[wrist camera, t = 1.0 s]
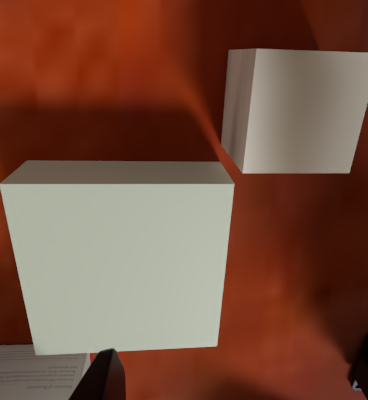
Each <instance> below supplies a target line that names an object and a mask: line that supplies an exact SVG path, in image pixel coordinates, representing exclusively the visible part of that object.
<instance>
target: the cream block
mask: <svg viewBox="0 0 368 400" xmlns="http://www.w3.org/2000/svg"><path fill="white" fill-rule="evenodd" d="M367 103H368V53H361V52H334V51H308V50H281V49H238V50H229V51H228V63H227V76H226V88H225V101H224V113H223V126H222V138H221V146H222V147H223V148H224V149H225V151H226V152H227V153H228V155H229V156H230V157H231V159H232V160H233V161H234V163H235V164H236V165H237V167H238V168H239V169H240V171H241V172H242V173H350V169H351V165H352V161H353V158H354V154H355V150H356V146H357V142H358V138H359V134H360V130H361V126H362V122H363V119H364V115H365V111H366V107H367Z"/></svg>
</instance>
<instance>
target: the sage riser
mask: <svg viewBox="0 0 368 400" xmlns="http://www.w3.org/2000/svg"><path fill="white" fill-rule="evenodd" d="M0 190H1V194H2V199H3V204H4V208H5V213H6V218H7V222H8V227H9V232H10V237H11V241H12V246H13V251H14V255H15V260H16V265H17V270H18V274H19V279H20V284H21V288H22V293H23V298H24V302H25V307H26V312H27V317H28V321H29V326H30V331H31V335H32V340H33V345H34V350H35V354H36V356H37V355H57V354H76V353H96V352H100V351H101V350H105V349H110V348H114V349H115V350H116V351H134V350H154V349H173V348H193V347H212V346H217V341H218V332H219V323H220V313H221V304H222V295H223V286H224V276H225V267H226V258H227V248H228V239H229V230H230V220H231V211H232V202H233V192H234V183H233V181H232V179H231V178H230V176H229V175H228V173H227V172H226V170H225V169H224V167H223V165H222V164H221V162H181V161H38V160H27V161H26V162H24V163H23V164H22V165H21V166H20V167H19V168H17V169H16V170H15V171H14V172H13V173H12V174H11V175H9V176H8V177H7V178H6V179H5V180H4V181H2V182H1V183H0Z"/></svg>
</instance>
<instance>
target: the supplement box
mask: <svg viewBox="0 0 368 400" xmlns="http://www.w3.org/2000/svg"><path fill="white" fill-rule="evenodd" d="M89 366H90V353H76V354H57V355H37V356H36V354H35V350H34V345H0V400H68V399H69V398H70V396H71V395H72V393H73V391H74V390H75V388H76V387H77V385H78V384H79V382H80V380H81V379H82V377H83V376H84V374H85V372H86V371H87V369H88V368H89Z"/></svg>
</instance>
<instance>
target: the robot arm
mask: <svg viewBox="0 0 368 400" xmlns="http://www.w3.org/2000/svg"><path fill="white" fill-rule="evenodd" d="M350 385H351V386H352V388H353V390H362V392H363V393H364V395H365V397H366V398H367V400H368V335H367V337H366V340H365V343H364V345H363V348H362V351H361V354H360V357H359V359H358V362H357V365H356V368H355V371H354V373H353V376H352V379H351V382H350ZM68 400H126V390H125V371H124V367H123V365H122V363H121V360H120V358H119V356H118V354H117V351H116V350H115V349H114V348H110V349H105V350H101V351H100V352H99V353H98V354H97V355H96V357H95V358H94V360H93V361H92V363H91V365H90V366H89V368H88V369H87V371H86V372H85V374H84V376H83V377H82V379H81V380H80V382H79V384H78V385H77V387H76V388H75V390H74V391H73V393H72V395H71V396H70V398H69V399H68Z"/></svg>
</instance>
